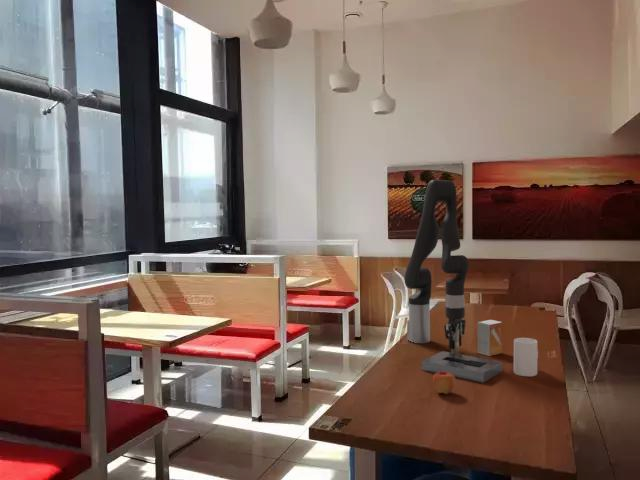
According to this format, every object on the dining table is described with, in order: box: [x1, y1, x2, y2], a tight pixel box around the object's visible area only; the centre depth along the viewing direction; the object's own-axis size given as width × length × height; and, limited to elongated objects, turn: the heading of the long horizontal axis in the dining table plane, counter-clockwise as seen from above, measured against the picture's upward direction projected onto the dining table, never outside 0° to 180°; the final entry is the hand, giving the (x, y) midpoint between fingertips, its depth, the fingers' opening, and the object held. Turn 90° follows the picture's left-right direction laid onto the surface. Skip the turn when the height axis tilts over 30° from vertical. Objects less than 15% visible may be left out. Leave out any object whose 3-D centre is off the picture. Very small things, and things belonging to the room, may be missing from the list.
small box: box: [477, 319, 503, 357], centre depth 219 cm, size 8×6×13 cm
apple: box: [432, 368, 457, 395], centre depth 174 cm, size 7×7×8 cm
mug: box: [513, 337, 539, 377], centre depth 195 cm, size 8×12×12 cm
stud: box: [450, 329, 463, 355], centre depth 213 cm, size 5×5×12 cm
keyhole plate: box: [421, 350, 503, 384], centre depth 197 cm, size 24×16×4 cm, turn 49°
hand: (455, 347), depth 213 cm, fingers open, 5 cm apart
